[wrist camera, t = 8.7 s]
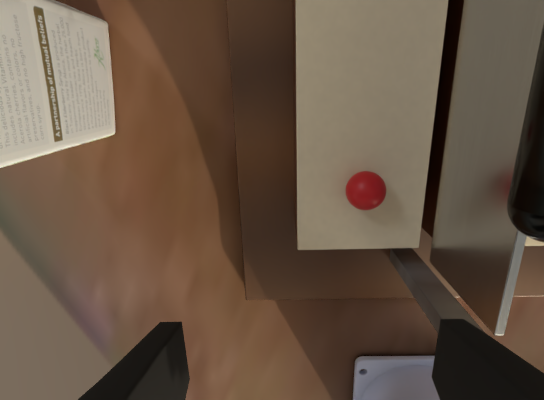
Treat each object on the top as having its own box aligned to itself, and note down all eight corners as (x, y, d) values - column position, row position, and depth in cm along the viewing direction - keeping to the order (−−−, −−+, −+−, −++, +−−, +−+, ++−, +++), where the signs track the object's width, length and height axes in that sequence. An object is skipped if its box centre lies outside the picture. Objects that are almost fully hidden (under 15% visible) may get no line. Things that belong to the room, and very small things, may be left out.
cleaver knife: (452, 261, 15) (573, 378, 9) (411, 262, 15) (503, 379, 9) (522, -179, 10) (892, -593, 4) (462, -176, 10) (737, -580, 4)
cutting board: (537, 287, 20) (710, 417, 12) (247, 291, 21) (226, 417, 13) (675, -249, 13) (1367, -846, 5) (214, -219, 13) (113, -708, 5)
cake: (515, 218, 18) (597, 262, 13) (294, 223, 18) (299, 266, 14) (584, -100, 13) (741, -199, 9) (291, -85, 14) (297, -174, 9)
